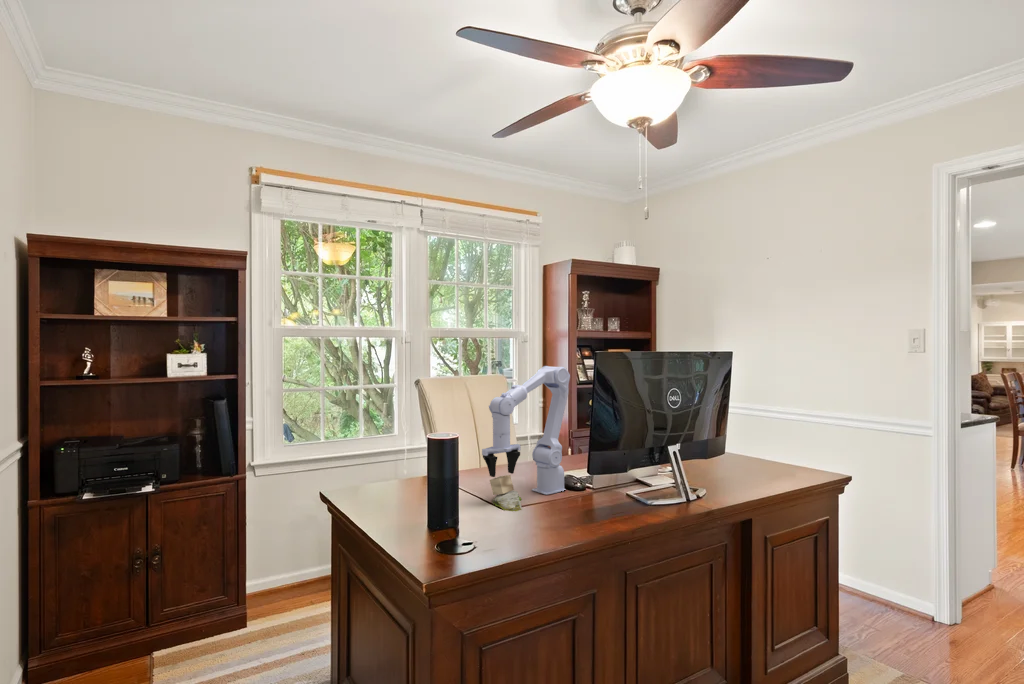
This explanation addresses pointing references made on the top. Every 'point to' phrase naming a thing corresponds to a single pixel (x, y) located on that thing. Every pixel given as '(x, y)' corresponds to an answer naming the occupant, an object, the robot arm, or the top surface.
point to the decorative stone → (508, 501)
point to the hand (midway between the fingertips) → (501, 474)
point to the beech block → (501, 484)
